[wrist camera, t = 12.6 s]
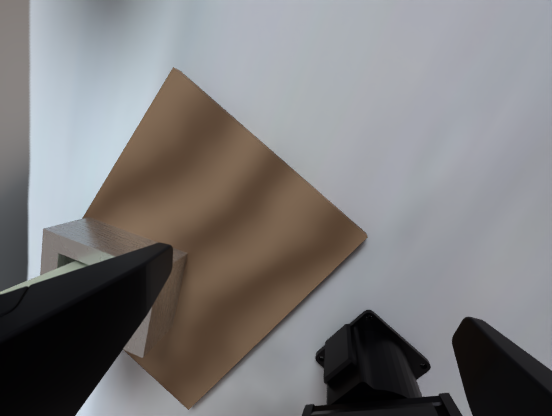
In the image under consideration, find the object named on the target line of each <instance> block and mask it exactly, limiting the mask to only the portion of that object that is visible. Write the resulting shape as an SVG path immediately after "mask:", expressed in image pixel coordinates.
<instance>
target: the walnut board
mask: <svg viewBox="0 0 552 416" xmlns="http://www.w3.org/2000/svg"><path fill="white" fill-rule="evenodd" d="M87 217H90V218H93V219H96V220H98V221H101V222H104V223H106V224H109V225H112V226H115V227H117V228H120V229H123V230H126V231H128V232H131V233H134V234H136V235H139V236H142V237H145V238H147V239H150V240H153V241H156V242H158V243H159V242H161V243H165V244H170V245H172V247H173V248H175V249H177V250H180V251H183V252H186V253H188V254H187V259H186V264H185V268H184V273H183V278H182V283H181V287H180V292H179V297H178V302H177V307H176V311H175V316H174V321H173V326H172V328H171V329H170V330H169V331H168V332H167V333H166V334H165V335H164V336H163V337H162V338H161V339H160V340H159V341H158V342H157V344H156V345H155V346H154V347H153V348H152V349H151V350H150V351H149V352H148V353H147V354H146V355H145V356H144V357H143V358H141V357H139V356H137V355H134V354H132V353H130V352H128V351H125V350H124V351H125V352H126V353H127V354H128V355H130V356H131V357H132V358H133V359H134V360H135V361H136V362H137V363H138V364H139V365H140V366H141V367H143V368H144V369H145V370H146V371H147V372H148V373H149V374H150V375H151V376H152V377H153V378H154V379H156V380H157V381H158V382H159V383H160V384H161V385H162V386H163V387H164V388H165V389H166V390H167V391H169V392H170V393H171V394H172V395H173V396H174V397H175V398H176V399H177V400H178V401H179V402H180V403H182V404H183V405H184V406H185V407H186V408H187V409H188V410H189V409H190V408H191V407H192V406H193V405H194V404H195V403H196V402H197V401H198V400H199V399H200V398H201V397H202V396H203V395H204V394H206V393H207V392H208V391H209V390H210V389H211V388H212V387H213V386H214V385H215V384H216V383H217V382H218V381H219V380H220V379H221V378H222V377H223V376H224V375H225V374H226V373H227V372H228V371H229V370H230V369H231V368H232V367H234V366H235V365H236V364H237V363H238V362H239V361H240V360H241V359H242V358H243V357H244V356H245V355H246V354H247V353H248V352H249V351H250V350H251V349H252V348H253V347H254V346H255V345H256V344H257V343H258V342H259V341H260V340H261V339H263V338H264V337H265V336H266V335H267V334H268V333H269V332H270V331H271V330H272V329H273V328H274V327H275V326H276V325H277V324H278V323H279V322H280V321H281V320H282V319H283V318H284V317H285V316H286V315H287V314H288V313H289V312H291V311H292V310H293V309H294V308H295V307H296V306H297V305H298V304H299V303H300V302H301V301H302V300H303V299H304V298H305V297H306V296H307V295H308V294H309V293H310V292H311V291H312V290H313V289H314V288H315V287H316V286H317V285H319V284H320V283H321V282H322V281H323V280H324V279H325V278H326V277H327V276H328V275H329V274H330V273H331V272H332V271H333V270H334V269H335V268H336V267H337V266H338V265H339V264H340V263H341V262H342V261H343V260H344V259H345V258H346V257H348V256H349V255H350V254H351V253H352V252H353V251H354V250H355V249H356V248H357V247H358V246H359V245H360V244H361V243H362V242H363V241H364V240H365V239H366V238H367V234H366V233H365V232H364V231H363V230H362V229H361V228H360V227H358V226H357V225H356V224H355V223H354V222H353V221H352V220H350V219H349V218H348V217H347V216H346V215H345V214H344V213H342V212H341V211H340V210H339V209H338V208H337V207H336V206H334V205H333V204H332V203H331V202H330V201H329V200H328V199H326V198H325V197H324V196H323V195H322V194H321V193H319V192H318V191H317V190H316V189H315V188H314V187H313V186H311V185H310V184H309V183H308V182H307V181H306V180H305V179H303V178H302V177H301V176H300V175H299V174H298V173H297V172H295V171H294V170H293V169H292V168H291V167H290V166H289V165H287V164H286V163H285V162H284V161H283V160H282V159H281V158H279V157H278V156H277V155H276V154H275V153H274V152H273V151H271V150H270V149H269V148H268V147H267V146H266V145H265V144H263V143H262V142H261V141H260V140H259V139H258V138H257V137H255V136H254V135H253V134H252V133H251V132H250V131H248V130H247V129H246V128H245V127H244V126H243V125H242V124H240V123H239V122H238V121H237V120H236V119H235V118H234V117H232V116H231V115H230V114H229V113H228V112H227V111H226V110H224V109H223V108H222V107H221V106H220V105H219V104H218V103H216V102H215V101H214V100H213V99H212V98H211V97H210V96H208V95H207V94H206V93H205V92H204V91H203V90H202V89H200V88H199V87H198V86H197V85H196V84H195V83H194V82H192V81H191V80H190V79H189V78H188V77H187V76H185V75H184V74H183V73H182V72H181V71H179V70H177V69H175V68H174V67H173V69H172V70H171V72H170V74H169V75H168V77H167V79H166V80H165V82H164V84H163V85H162V87H161V89H160V90H159V92H158V94H157V95H156V97H155V99H154V100H153V102H152V104H151V105H150V107H149V108H148V110H147V112H146V113H145V115H144V117H143V118H142V120H141V122H140V123H139V125H138V127H137V128H136V130H135V132H134V133H133V135H132V137H131V138H130V140H129V142H128V143H127V145H126V147H125V148H124V150H123V152H122V153H121V155H120V157H119V158H118V160H117V162H116V163H115V165H114V167H113V168H112V170H111V172H110V173H109V175H108V177H107V178H106V180H105V182H104V183H103V185H102V187H101V188H100V190H99V192H98V193H97V195H96V197H95V198H94V200H93V202H92V203H91V205H90V207H89V208H88V210H87V212H86V213H85V215H84V217H83V218H87ZM83 218H82V219H83Z"/></svg>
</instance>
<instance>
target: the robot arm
mask: <svg viewBox="0 0 552 416" xmlns="http://www.w3.org/2000/svg"><path fill="white" fill-rule="evenodd" d="M172 268H173V247H172V245H170V244H165V243H161V242H159V243H155V244H152V245H149V246H146V247H143V248H140V249H137V250H134V251H131V252H128V253H125V254H122V255H119V256H116V257H113V258H110V259H107V260H104V261H101V262H98V263H95V264H92V265H89V266H86V267H83V268H80V269H76V270H73V271H70V272H67V273H64V274H61V275H58V276H55V277H52V278H49V279H46V280H43V281H40V282H37V283H34V284H31V285H30V286H29V287H28V286H25V287H22V288H19V289H16V290H13V291H10V292H7V293H3V294H0V416H75V415H76V414H77V412H78V411H79V410H80V408H81V407H82V405H83V404H84V403H85V401H86V400H87V399H88V397H89V396H90V394H91V393H92V392H93V390H94V389H95V387H96V386H97V385H98V383H99V382H100V380H101V379H102V378H103V376H104V375H105V373H106V372H107V371H108V369H109V368H110V366H111V365H112V364H113V362H114V361H115V360H116V358H117V357H118V355H119V354H120V353H121V351H122V350H123V348H124V347H125V346H126V344H127V343H128V341H129V340H130V339H131V337H132V336H133V334H134V333H135V332H136V330H137V329H138V327H139V326H140V325H141V323H142V322H143V320H144V319H145V317H146V316H147V314H148V313H149V311H150V309H151V308H152V306H153V304H154V302H155V301H156V299H157V297H158V295H159V293H160V292H161V290H162V288H163V286H164V285H165V283H166V281H167V279H168V278H169V276H170V274H171V272H172ZM367 316H372V318H370V319H369V318H366V317H367ZM452 345H453V349H454V353H455V357H456V361H457V364H458V368H459V372H460V376H461V379H462V383H463V387H464V391H465V394H466V397H467V401H468V404H469V407H470V409H471V412H472V415H473V416H552V371H551V370H550V369H549V368H547V367H546V366H545V365H543V364H542V363H541V362H539V361H538V360H536V359H535V358H534V357H532V356H531V355H530V354H528V353H527V352H526V351H524V350H523V349H521V348H520V347H519V346H517V345H516V344H515V343H513V342H512V341H511V340H509V339H508V338H506V337H505V336H504V335H502V334H501V333H500V332H498V331H497V330H496V329H494V328H493V327H491V326H490V325H489V324H487V323H486V322H485V321H483V320H481V319H477V318H472V317H465V318H464V319H463V320H462V322H461V324H460V325H459V327H458V328H457V330H456V332H455V333H454V335H453V338H452ZM320 356H323V357H324V358H320ZM316 361H317V362H318V363H319V364H320V365H321V366H322V367H324V383H325V384H326V385H327V405H321V406H315V405H314V404H310V405H306V406H305V408H304V411H303V414H302V416H462V414H461V413H460V411H459V409H458V408H457V406H456V404H455V403H454V401H453V399H452V398H451V396H450V394H449V393H440V394H439V396H430V397H422V395H421V392H420V389H419V386H418V384H417V381H416V379H418V378H419V377H421V376H422V375H423V374H425V373H426V372H428V371H429V370H430V367H431V366H430V363H429V361H428V360H427V359H426V358H425V357H424V356H423V355H422V354H421V353H420V352H418V351H417V350H416V349H415V348H414V347H413V346H412V345H410V344H409V343H408V342H407V341H406V340H405V339H404V338H403V337H401V336H400V335H399V334H398V333H397V332H396V331H395V330H394V329H392V328H391V327H390V326H389V325H388V324H387V323H386V322H384V321H383V320H382V319H381V318H380V317H379V316H378V315H377V314H375V313H374V312H373V311H371V310H366V311H364V312H363V313H362V314H360V315H359V316H358V317H357V318H356V319H355V320H353V321H352V322H351V323H350V324H345V325H344V326H343V327H342V328H341V329H340V330H338V331H337V332H336V333H335V334H334V335H333V336H331V337H330V338H329V339H328V340H327V341H326V342H325V346H323V347H322V348H321V349H320V350H319V351H318V352H317V353H316ZM421 364H425V365H423V366H422V365H421Z"/></svg>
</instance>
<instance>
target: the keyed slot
mask: <svg viewBox="0 0 552 416" xmlns="http://www.w3.org/2000/svg"><path fill="white" fill-rule="evenodd" d="M155 243H158V242H156V241H153V240H150V239H147V238H145V237H142V236H139V235H136V234H134V233H131V232H128V231H126V230H123V229H120V228H117V227H115V226H112V225H109V224H106V223H104V222H101V221H98V220H96V219H93V218H90V217H87V218H83V219H79V220H75V221H72V222H68V223H64V224H60V225H56V226H52V227H48V228H44V229H43V241H42V256H41V272H40V275H43V274H45V273H47V272H50V271H52V270H55V269H57V268H60V267H62V266H64V265H67V264H69V263H72V262H74V261H76V260H77V261H80V262H82V263H85V264H87V265H92V264H95V263H98V262H101V261H104V260H107V259H110V258H113V257H116V256H119V255H122V254H125V253H128V252H131V251H134V250H137V249H140V248H143V247H146V246H149V245H152V244H155ZM187 254H188V253H186V252H183V251H180V250H177V249H175V248H173V268H172V272H171V274H170V276H169V278H168V279H167V281H166V283H165V285H164V286H163V288H162V290H161V292H160V293H159V295H158V297H157V299H156V301H155V302H154V304H153V306H152V308H151V309H150V311H149V313H148V314H147V316H146V317H145V319H144V320H143V322H142V323H141V325H140V326H139V327H138V329H137V330H136V332H135V333H134V334H133V336H132V337H131V339H130V340H129V341H128V343H127V344H126V346H125V347H124V348H123V350H125V351H128V352H130V353H132V354H134V355H137V356H139V357H141V358H143V357H144V356H145V355H146V354H147V353H148V352H149V351H150V350H151V349H152V348H153V347H154V346H155V345H156V344H157V342H158V341H159V340H160V339H161V338H162V337H163V336H164V335H165V334H166V333H167V332H168V331H169V330H170V329H171V328H172V326H173V321H174V316H175V311H176V307H177V302H178V297H179V292H180V287H181V283H182V278H183V273H184V268H185V264H186V259H187Z"/></svg>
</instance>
